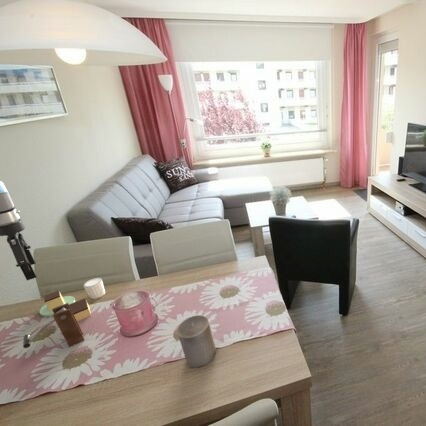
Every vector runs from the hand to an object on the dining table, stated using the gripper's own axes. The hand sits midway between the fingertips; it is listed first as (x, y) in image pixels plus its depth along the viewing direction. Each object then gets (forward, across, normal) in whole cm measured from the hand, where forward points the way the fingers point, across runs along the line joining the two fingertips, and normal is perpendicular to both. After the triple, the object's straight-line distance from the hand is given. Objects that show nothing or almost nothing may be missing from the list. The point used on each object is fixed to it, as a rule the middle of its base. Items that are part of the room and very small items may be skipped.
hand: (31, 271), depth 114 cm
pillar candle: (+21, -66, -36) cm, 78 cm away
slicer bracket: (+22, -27, -6) cm, 35 cm away
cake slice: (+20, +4, -2) cm, 21 cm away
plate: (+22, +4, -2) cm, 22 cm away
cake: (+22, -11, -8) cm, 25 cm away
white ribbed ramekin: (+22, +1, -16) cm, 27 cm away
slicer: (+11, -27, -1) cm, 29 cm away
